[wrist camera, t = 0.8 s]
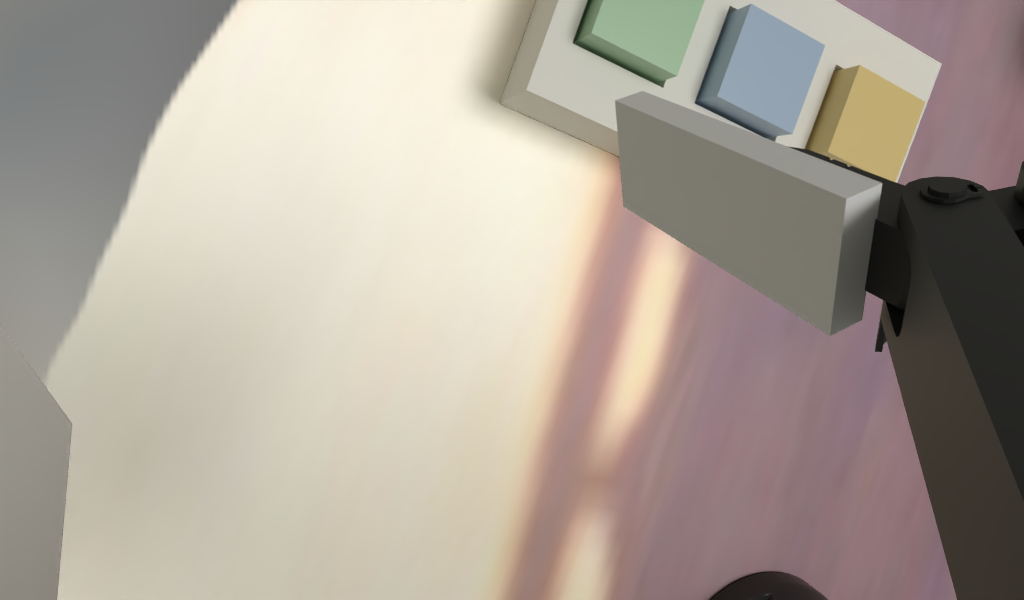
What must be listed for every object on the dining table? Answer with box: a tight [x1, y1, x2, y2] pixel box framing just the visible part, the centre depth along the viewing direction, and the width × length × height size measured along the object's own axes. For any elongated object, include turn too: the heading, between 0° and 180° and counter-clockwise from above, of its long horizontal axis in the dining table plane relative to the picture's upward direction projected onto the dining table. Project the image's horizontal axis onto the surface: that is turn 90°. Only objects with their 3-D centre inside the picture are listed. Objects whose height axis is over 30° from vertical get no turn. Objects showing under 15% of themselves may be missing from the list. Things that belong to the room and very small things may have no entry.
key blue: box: [695, 4, 825, 138], centre depth 46 cm, size 6×6×4 cm
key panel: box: [499, 0, 942, 183], centre depth 49 cm, size 28×14×6 cm, turn 69°
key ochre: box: [805, 65, 925, 182], centre depth 49 cm, size 6×6×4 cm
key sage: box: [573, 0, 705, 84], centre depth 43 cm, size 6×6×4 cm
